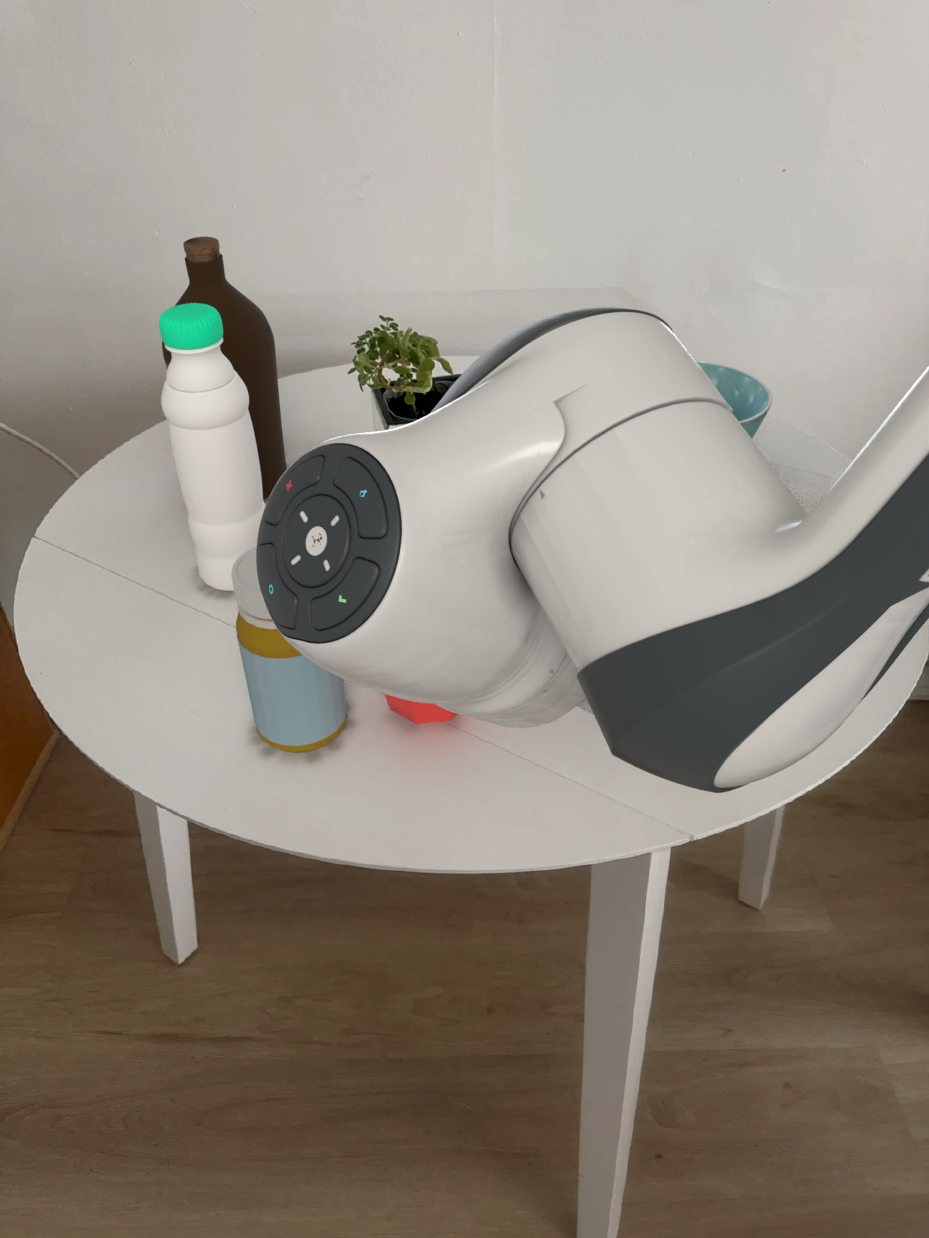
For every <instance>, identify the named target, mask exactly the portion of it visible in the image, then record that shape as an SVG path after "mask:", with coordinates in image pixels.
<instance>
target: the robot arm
mask: <svg viewBox="0 0 929 1238" xmlns="http://www.w3.org/2000/svg"><path fill="white" fill-rule="evenodd" d="M732 411H733V409H732V408H731V407H730V405H729V404H728V403H727V402H726V401H725V399H724V398H723V397H722V395H721V394H720V393H719V391H718V390H717V388H716V387H715V385H714V384H713V383H712V381H711V380H710V379H709V377H708V376H707V375H706V373H705V372H704V371H703V369H702V368H701V367H700V366H699V364H698V363H697V362H696V359H695V358H694V357H693V355H692V353H690V351H689V350H688V349H687V348H686V346H685V345H684V344H683V343H682V341H681V340H680V339H679V338H678V336H677V335H676V334H675V332H674V330H673V328H672V327H671V326H670V325H669V323H667V322H666V321H665V320H664V319H663V318H661V317H660V316H658V315H656V314H654V313H651V312H648V311H644V310H639V309H634V308H630V307H621V306H594V307H584V308H578V309H572V310H568V311H563V312H560V313H556V314H552V315H549V316H547V317H544V318H540V319H536V320H534V321H532V322H530V323H527V324H526V325H523V326H522V327H520V328H518V329H516V330H515V331H513V332H512V333H510V334H508V335H506V336H505V337H504V338H502V340H500V341H498V342H496V343H495V345H493V346H492V347H490V348H489V349H488V350H486V351H485V352H484V353H482V355H480V356H479V357H478V358H477V359H475V361H473V362H472V364H470V366H468V367H467V368H466V369H465V370H464V371H463V373H462V374H461V375H460V376H459V377H458V378H457V379H456V380H455V381H454V382H453V383H452V385H450V387H449V389H448V390H447V391H446V392H445V393H444V395H443V396H442V398H440V400H439V401H438V402H437V404H436V405H435V406H434V408H433V409H432V410H431V411H430V413H428V414H427V415H425V416H423V417H420V418H419V419H416V420H414V421H412V422H409V423H407V424H404V425H401V426H397V427H394V428H389V429H384V430H378V431H377V430H376V431H367V432H366V431H365V432H357V433H349V434H345V435H340V436H335V437H333V438H330V439H326V440H324V441H322V442H320V443H318V444H316V445H314V446H313V447H310V448H309V449H307V450H306V451H305V452H304V453H303V454H301V455H299V457H298V458H297V459H295V461H293V462H292V463H291V464H290V465H289V466H288V467H286V469H287V470H286V471H285V472H284V473H283V475H282V476H281V477H280V479H279V480H278V482H277V484H276V485H275V487H274V489H273V490H272V492H271V494H270V496H269V497H268V499H267V501H266V503H265V505H266V506H265V509H264V512H263V515H262V518H261V522H260V527H259V531H258V538H257V549H256V564H257V575H258V581H259V585H260V589H261V592H262V595H263V599H264V602H265V605H266V607H267V610H268V612H269V615H270V617H271V619H272V621H273V623H274V624H275V626H276V628H277V629H278V630H279V632H280V633H281V635H282V636H283V637H284V638H285V640H286V641H287V642H288V643H289V644H291V645H292V646H293V647H294V648H295V649H296V650H297V651H299V652H300V653H301V654H302V655H304V656H305V657H306V658H307V659H309V660H310V661H312V662H313V663H315V664H316V665H318V666H320V667H321V668H323V669H325V670H327V671H329V672H331V673H333V674H334V675H336V676H338V677H340V678H342V679H343V680H345V681H347V682H350V683H352V684H354V685H357V686H360V687H362V688H365V689H367V690H371V691H374V692H377V693H379V694H383V695H385V694H386V695H390V696H393V697H397V698H400V699H404V700H408V701H413V702H419V703H434V704H436V705H438V706H439V707H441V708H443V709H446V710H448V711H451V712H453V713H457V715H460V716H464V717H468V718H472V719H476V720H480V721H483V722H487V723H490V724H494V725H498V726H500V727H501V726H502V727H506V728H513V729H527V728H528V729H529V728H535V727H540V726H543V725H547V724H550V723H552V722H555V721H556V720H559V719H560V718H562V717H564V716H566V715H567V714H568V713H570V712H572V711H573V710H574V709H575V708H576V707H577V708H579V709H581V710H583V711H585V712H587V713H588V714H591V715H592V716H594V718H595V721H596V722H597V725H598V727H599V729H600V731H601V733H602V736H603V738H604V740H605V742H606V745H607V747H608V749H609V752H610V753H611V755H612V756H613V757H615V758H617V759H619V760H621V761H623V762H625V763H626V764H629V765H631V766H633V767H635V768H637V769H639V770H641V771H643V772H646V773H648V774H651V775H653V776H656V777H658V778H661V779H663V780H666V781H668V782H672V783H675V784H678V785H681V786H683V787H688V788H692V789H696V790H699V791H704V792H710V793H714V794H722V793H728V792H731V791H734V790H737V789H739V788H742V787H745V786H747V785H750V784H752V783H755V782H758V781H761V780H763V779H767V778H769V777H771V776H773V775H776V774H778V773H780V772H783V771H784V770H786V769H787V768H789V767H791V766H793V765H795V764H796V763H798V762H799V761H801V760H803V759H804V758H806V757H807V756H809V755H810V754H811V753H813V752H814V751H815V750H817V749H818V748H819V747H820V746H821V745H823V744H824V743H825V742H826V741H827V740H828V739H830V737H832V735H834V734H835V733H836V732H837V731H838V730H839V729H840V727H841V726H842V725H843V724H844V723H845V722H846V721H847V719H848V718H849V717H850V716H851V715H852V713H853V712H854V711H855V709H857V707H858V706H859V704H861V702H863V700H864V699H866V697H867V696H868V695H869V694H870V692H871V691H872V690H873V689H874V688H875V687H876V686H877V684H878V683H879V681H880V680H881V679H882V678H883V677H884V676H885V674H886V673H887V672H888V671H889V669H890V668H891V667H892V665H894V663H895V662H896V660H897V659H898V658H899V656H900V655H901V654H902V653H903V652H904V650H905V649H906V647H907V646H908V645H909V644H910V643H911V641H912V639H914V637H915V635H916V634H917V633H918V632H919V631H920V629H921V628H922V627H923V626H924V624H925V623H926V622H927V621H928V620H929V365H928V366H927V367H926V369H924V371H923V372H922V374H920V376H919V377H918V378H917V380H916V381H915V382H914V383H913V385H912V386H911V387H910V388H909V389H908V390H907V392H905V394H904V396H903V397H902V398H901V399H900V401H899V402H898V403H897V404H896V406H895V407H894V408H893V409H892V411H891V412H890V413H889V414H888V415H887V417H886V418H885V419H884V420H883V421H882V422H881V424H880V425H879V427H878V428H877V429H876V430H875V431H874V433H873V434H872V435H871V437H870V438H869V439H868V440H867V442H866V443H865V444H864V445H863V446H862V448H861V449H860V450H859V452H858V453H857V454H856V455H855V456H854V457H853V459H852V460H851V462H849V464H848V465H847V466H846V467H845V469H844V470H843V471H842V472H841V474H840V475H839V476H838V478H837V479H836V480H835V481H834V482H833V484H832V485H831V486H830V487H829V488H828V490H827V491H826V492H825V493H824V495H823V496H822V497H821V498H820V500H819V501H818V502H817V503H816V505H814V507H813V508H812V509H811V511H809V513H808V512H807V511H806V509H805V508H804V506H802V504H801V503H800V501H798V499H797V498H796V496H795V495H794V493H793V492H792V491H791V490H790V488H789V487H788V485H787V484H786V482H784V480H783V479H782V478H781V476H780V475H779V474H778V472H777V471H776V469H775V468H774V467H773V466H772V464H771V463H770V462H769V460H768V458H766V456H765V455H764V453H763V452H762V451H761V450H760V448H759V447H758V446H757V444H756V443H755V442H754V440H753V438H752V439H751V438H750V436H749V435H748V434H747V432H746V431H745V430H744V428H743V427H742V426H741V424H740V423H739V422H738V420H737V418H736V417H735V416H734V414H733V413H732Z"/></svg>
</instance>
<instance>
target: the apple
mask: <svg viewBox="0 0 929 1238" xmlns="http://www.w3.org/2000/svg"><path fill="white" fill-rule="evenodd" d="M384 697H385V700H386V702H387V705H388V708H389V710H390V711H392V712H393V713H396V714H398V715H400V716H401V717H403V718H405V719H407V720H408V721H410V722H412V723H413V724H416V725H418V724H429V723H430V724H431V723H441V722H449V721H452V720H453V719H454V718H455V717H457V715H458V714H457V713H453V712H451V711H448V710H446V709H443V708H441V707H439V706H438V705H436V704H434V703H419V702H413V701H408V700H404V699H400V698H397V697H393V696H390V695H386V694H384Z"/></svg>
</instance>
